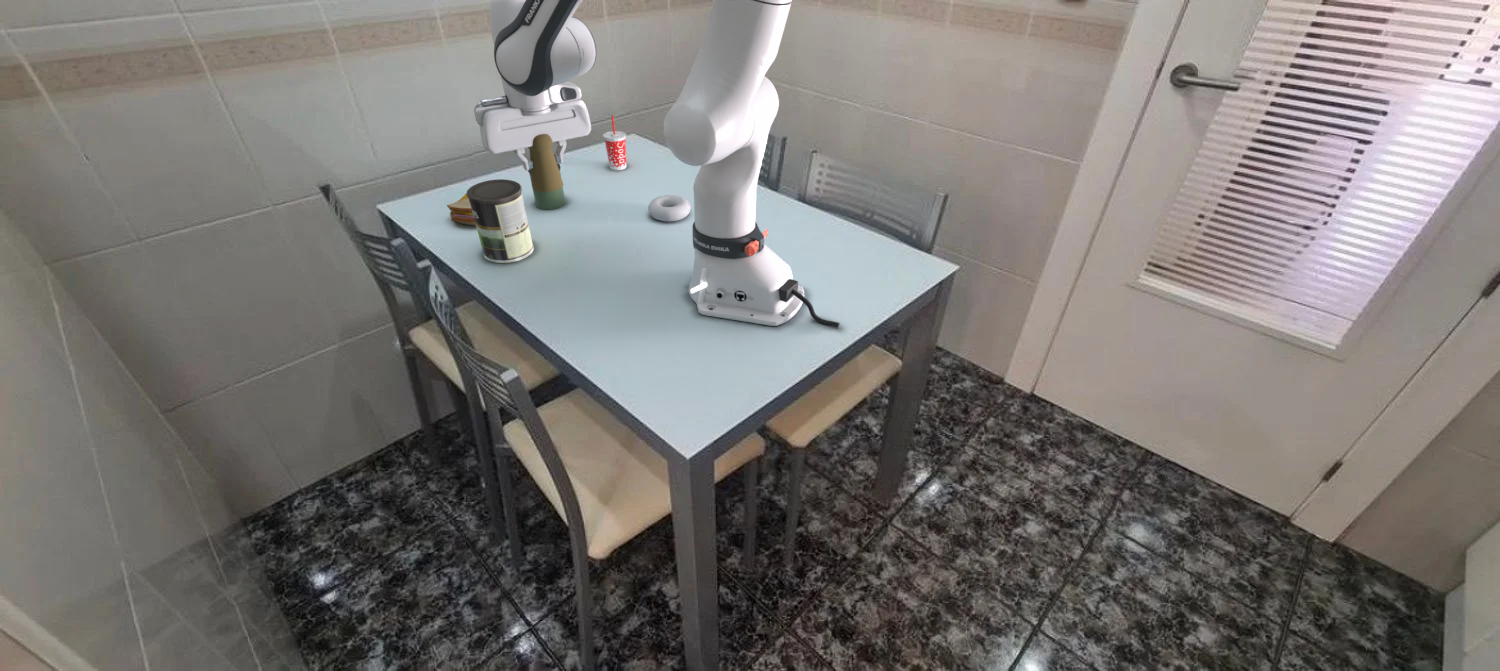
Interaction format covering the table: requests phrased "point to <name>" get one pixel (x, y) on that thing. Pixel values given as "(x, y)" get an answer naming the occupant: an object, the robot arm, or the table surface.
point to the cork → (544, 165)
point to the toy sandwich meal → (462, 211)
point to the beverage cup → (616, 148)
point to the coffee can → (501, 220)
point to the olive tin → (549, 197)
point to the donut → (669, 208)
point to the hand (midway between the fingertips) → (544, 165)
